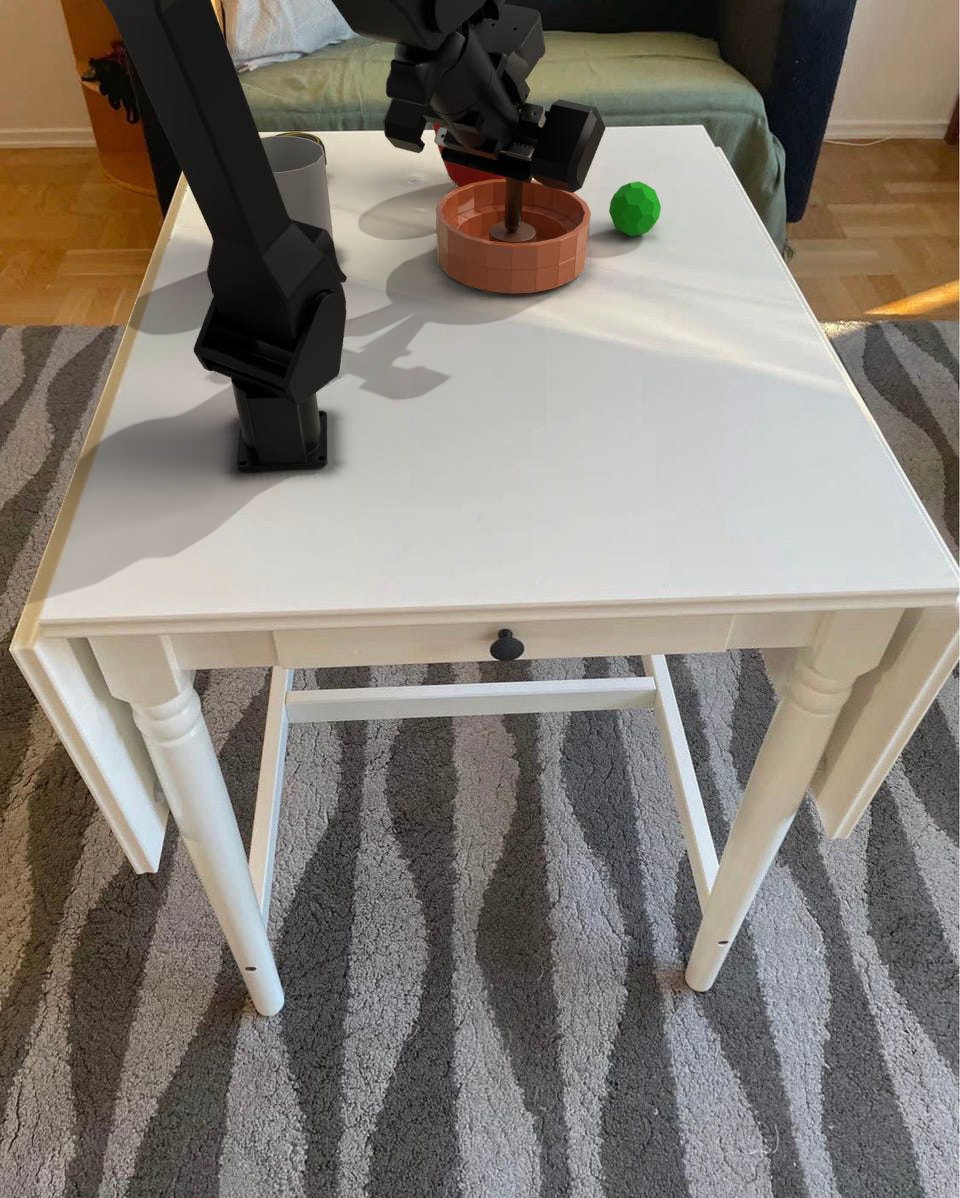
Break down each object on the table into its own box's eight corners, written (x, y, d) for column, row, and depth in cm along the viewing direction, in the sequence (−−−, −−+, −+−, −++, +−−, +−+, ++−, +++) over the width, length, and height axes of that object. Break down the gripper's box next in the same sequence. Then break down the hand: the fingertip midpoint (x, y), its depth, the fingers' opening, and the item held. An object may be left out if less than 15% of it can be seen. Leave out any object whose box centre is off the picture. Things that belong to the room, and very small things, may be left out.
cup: (318, 287, 88) (305, 177, 81) (234, 277, 89) (213, 168, 82) (345, 246, 93) (335, 140, 86) (266, 237, 95) (249, 132, 87)
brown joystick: (541, 250, 92) (551, 94, 82) (523, 269, 89) (531, 110, 79) (500, 241, 93) (504, 86, 83) (481, 260, 90) (483, 102, 80)
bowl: (598, 294, 87) (604, 242, 84) (444, 302, 86) (444, 249, 83) (570, 225, 97) (574, 176, 94) (431, 231, 96) (430, 181, 92)
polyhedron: (621, 247, 94) (627, 198, 91) (598, 226, 97) (603, 178, 94) (665, 239, 95) (673, 191, 92) (641, 218, 99) (648, 171, 95)
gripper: (608, -7, 68) (650, 110, 83) (394, -44, 75) (467, 71, 90) (549, 142, 69) (600, 232, 84) (343, 93, 76) (423, 184, 90)
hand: (521, 175), depth 87 cm, fingers closed on brown joystick, 2 cm apart
